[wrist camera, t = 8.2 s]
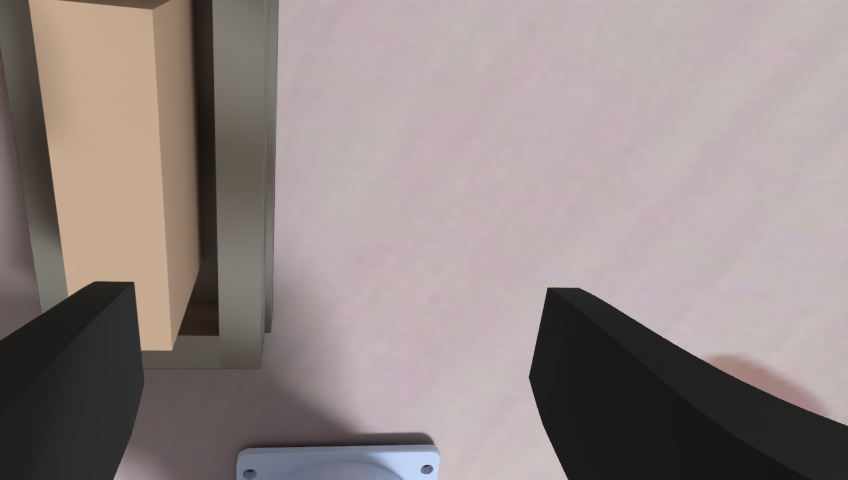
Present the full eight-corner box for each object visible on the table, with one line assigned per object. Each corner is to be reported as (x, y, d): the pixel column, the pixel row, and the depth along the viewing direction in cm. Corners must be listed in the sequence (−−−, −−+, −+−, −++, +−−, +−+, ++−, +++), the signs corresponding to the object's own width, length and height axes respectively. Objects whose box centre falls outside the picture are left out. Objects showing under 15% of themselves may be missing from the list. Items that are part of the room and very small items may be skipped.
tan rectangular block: (203, 258, 20) (172, 350, 16) (128, 255, 20) (75, 349, 15) (194, -12, 17) (152, 9, 13) (105, -22, 17) (28, -3, 12)
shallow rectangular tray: (272, 317, 23) (266, 369, 20) (76, 313, 22) (42, 368, 19) (280, -70, 18) (273, -69, 15) (23, -102, 16) (-34, -107, 14)
